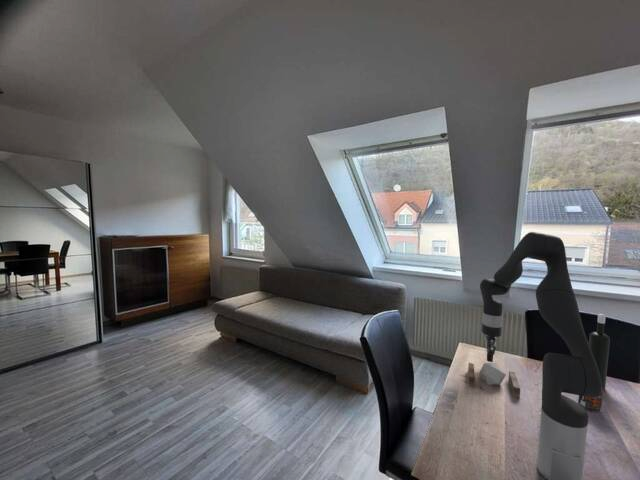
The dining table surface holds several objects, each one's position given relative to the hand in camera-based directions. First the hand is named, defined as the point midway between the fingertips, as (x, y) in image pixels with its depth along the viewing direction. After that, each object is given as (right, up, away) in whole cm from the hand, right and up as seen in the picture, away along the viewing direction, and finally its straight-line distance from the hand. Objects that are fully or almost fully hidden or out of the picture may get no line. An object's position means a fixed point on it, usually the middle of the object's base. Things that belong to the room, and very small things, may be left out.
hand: (489, 360), depth 126 cm
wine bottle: (+35, -5, -12) cm, 37 cm away
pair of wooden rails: (-5, -5, -10) cm, 13 cm away
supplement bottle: (+21, -7, -24) cm, 33 cm away
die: (-5, -5, -9) cm, 12 cm away
